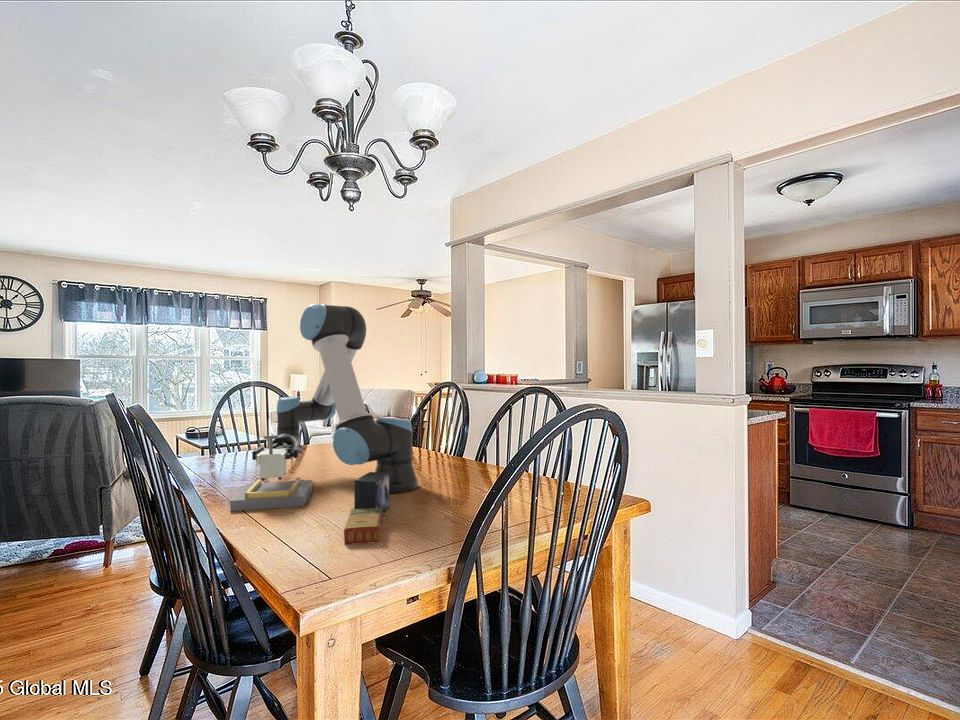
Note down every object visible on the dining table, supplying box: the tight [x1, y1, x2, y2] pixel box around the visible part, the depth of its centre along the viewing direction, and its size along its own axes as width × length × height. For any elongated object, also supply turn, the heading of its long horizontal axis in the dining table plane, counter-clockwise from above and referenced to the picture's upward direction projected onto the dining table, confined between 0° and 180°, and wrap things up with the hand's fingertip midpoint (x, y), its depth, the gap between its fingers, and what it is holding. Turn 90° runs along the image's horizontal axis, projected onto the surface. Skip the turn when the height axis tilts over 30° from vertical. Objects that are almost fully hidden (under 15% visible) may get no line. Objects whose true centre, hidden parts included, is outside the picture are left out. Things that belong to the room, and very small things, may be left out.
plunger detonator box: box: [259, 434, 287, 481], centre depth 159 cm, size 6×9×14 cm, turn 11°
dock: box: [229, 477, 313, 512], centre depth 159 cm, size 20×20×4 cm
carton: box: [343, 508, 384, 545], centre depth 129 cm, size 8×16×4 cm, turn 8°
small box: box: [353, 471, 390, 514], centre depth 144 cm, size 11×6×10 cm, turn 168°
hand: (270, 459), depth 154 cm, fingers closed on plunger detonator box, 6 cm apart
